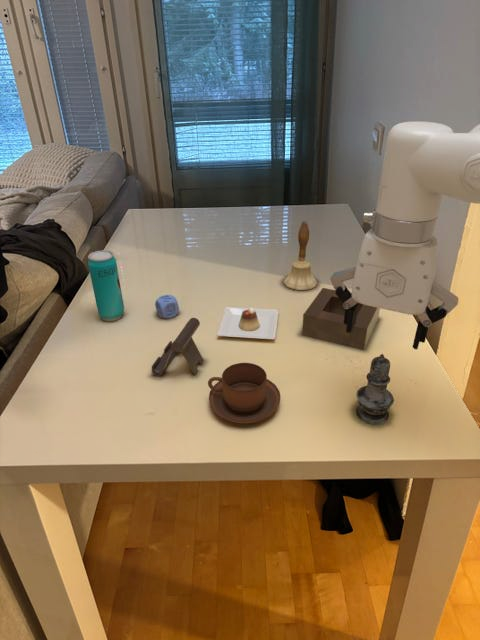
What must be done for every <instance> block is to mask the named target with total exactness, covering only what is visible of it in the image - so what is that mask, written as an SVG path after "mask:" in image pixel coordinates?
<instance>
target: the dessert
mask: <svg viewBox="0 0 480 640" xmlns="http://www.w3.org/2000/svg"><path fill="white" fill-rule="evenodd" d="M279 312H280V310H279V309H276V308H274V309H273V308H255V307H252V306H249V307H237V306H226V307H225V309H224V311H223V315H222V317H221V318H222V319H221V321H220V324H219V327H218V329H217V330H218V331H217V333H216V336H217V337H226V338H242V339H243V338H245V339H258V340H259V339H262V340H276V336H277V329H278V328H277V327H278V319H279Z"/></svg>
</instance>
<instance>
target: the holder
mask: <svg viewBox="0 0 480 640" xmlns="http://www.w3.org/2000/svg"><path fill="white" fill-rule="evenodd" d="M380 309H381V308H376V307H372V306H368V305H364V304H360V303H359V304H358V311H357V318H356V324H355V326H354V328H353V330H352V332H350V333H347V332H346V327H347V324H344V315H345V308H344V307H343V303H342V301H341V300H340V299H339V298H338V296H337V295H336V294H335V289H331V288H325V287H322V288H321V289H320V291H319V292H318V293H317V294H316V296H315V298H314V299H313V301H312V302H311V303H310V305H309V306H308V308H306V310H305V311H304V312H303V315H302V330H301V336H305V337H308V338H313V339H317V340H322V341H325V342H329V343H334V344H338V345H343V346H346V347H351V348H355V349H359V350H365V349H366V347H367V345H368V342H369V340H370V339H371V336H372V333H373V332H374V329H375V327H376V325H377V323H378V320H379V317H380Z"/></svg>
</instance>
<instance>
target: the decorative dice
mask: <svg viewBox="0 0 480 640" xmlns="http://www.w3.org/2000/svg"><path fill="white" fill-rule="evenodd" d="M154 305H155V310H156V313H157V315H158V316H159V317H160V318H162V319H164V320H165V319H173V318H174V317H176V316H177V314H178V313H179V310H180V307H179V302H178V300H177V298H176V297H175V296H174V295H172V294H163V295H160V296H159V297H157V298H156V299H155V302H154Z"/></svg>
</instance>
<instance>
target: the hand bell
mask: <svg viewBox="0 0 480 640" xmlns="http://www.w3.org/2000/svg"><path fill="white" fill-rule="evenodd" d="M297 238H298V239H297V240H298V245H299V246H298V247H299V250H298V258H297V260H295V261H293V262H292V265H291V270H290V272H289V274H288V275H287V276H286V277H285V279H284V280H283V284H284V285H285V287H287V288H288V289H291V290H296V291H308V290H312V289H314V288H316V286H317V285H318V281H317V279H316V278H315V277H314V276H313V274H312V269H311V263H310V262H309V261H308V260H306V256H307V253H306V252H307V245H308V243H309V239H310V229H309V224H308V221H305V220H304V221H301V225H300V227H299V230H298V233H297Z"/></svg>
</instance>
